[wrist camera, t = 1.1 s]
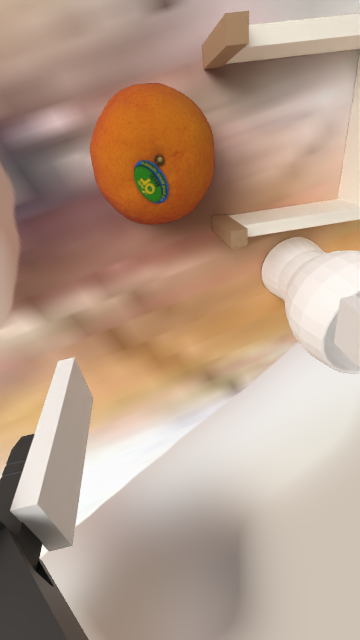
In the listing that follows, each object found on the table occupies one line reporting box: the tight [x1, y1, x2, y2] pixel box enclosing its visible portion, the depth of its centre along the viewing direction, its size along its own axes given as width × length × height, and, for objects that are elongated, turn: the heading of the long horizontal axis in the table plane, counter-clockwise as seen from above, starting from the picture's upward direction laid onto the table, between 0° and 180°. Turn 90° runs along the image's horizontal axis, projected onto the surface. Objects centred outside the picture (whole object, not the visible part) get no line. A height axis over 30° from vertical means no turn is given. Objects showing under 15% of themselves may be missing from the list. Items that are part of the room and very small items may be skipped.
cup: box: [261, 237, 360, 374], centre depth 31 cm, size 11×11×15 cm
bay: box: [202, 11, 360, 249], centre depth 27 cm, size 16×16×7 cm
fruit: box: [90, 83, 215, 225], centre depth 26 cm, size 11×10×8 cm
